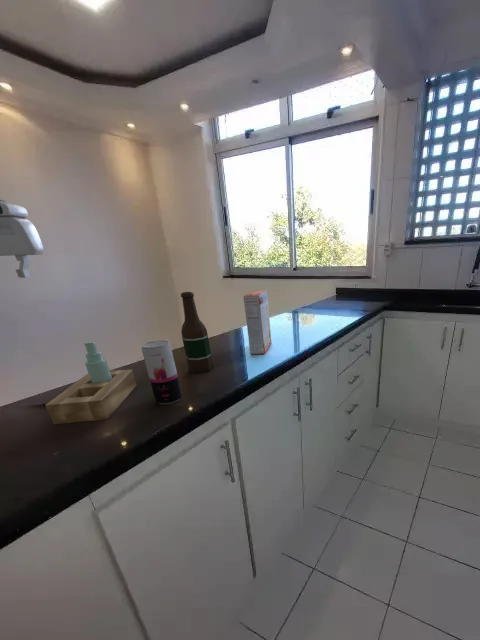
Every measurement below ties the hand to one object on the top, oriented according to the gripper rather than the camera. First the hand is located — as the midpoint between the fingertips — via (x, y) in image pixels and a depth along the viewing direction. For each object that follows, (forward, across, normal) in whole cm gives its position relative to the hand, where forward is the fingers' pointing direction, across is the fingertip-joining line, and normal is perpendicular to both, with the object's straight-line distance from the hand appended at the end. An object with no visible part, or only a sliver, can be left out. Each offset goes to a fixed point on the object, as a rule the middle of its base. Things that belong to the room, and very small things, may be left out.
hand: (2, 278), depth 71 cm
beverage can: (+31, +32, -7) cm, 45 cm away
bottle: (+31, +14, 0) cm, 34 cm away
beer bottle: (+30, +37, +15) cm, 50 cm away
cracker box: (+30, +57, +33) cm, 73 cm away
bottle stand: (+31, +14, -5) cm, 34 cm away
